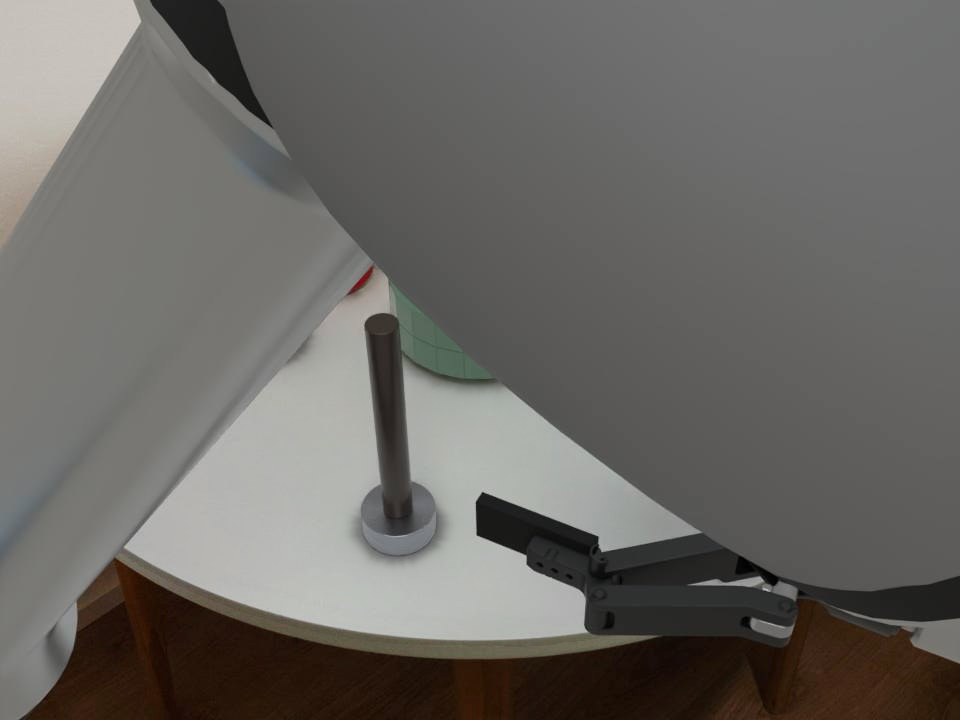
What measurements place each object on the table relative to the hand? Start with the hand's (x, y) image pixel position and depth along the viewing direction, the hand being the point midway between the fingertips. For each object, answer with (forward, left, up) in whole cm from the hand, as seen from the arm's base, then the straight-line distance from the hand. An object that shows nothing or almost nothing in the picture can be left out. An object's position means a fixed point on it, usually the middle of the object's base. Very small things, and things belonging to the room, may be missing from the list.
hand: (534, 430), depth 60 cm
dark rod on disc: (-4, +9, -14) cm, 17 cm away
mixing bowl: (+13, +23, -14) cm, 30 cm away
